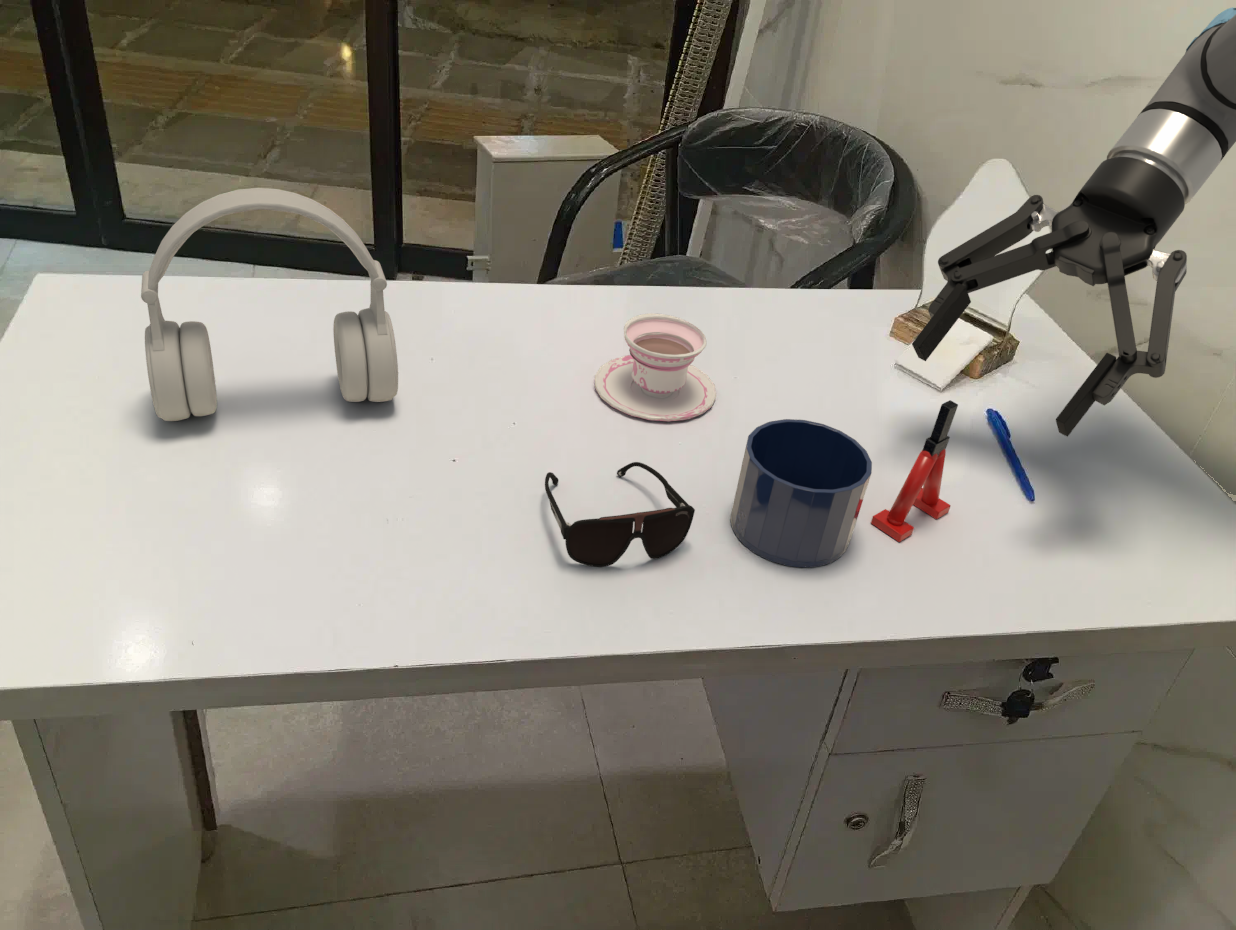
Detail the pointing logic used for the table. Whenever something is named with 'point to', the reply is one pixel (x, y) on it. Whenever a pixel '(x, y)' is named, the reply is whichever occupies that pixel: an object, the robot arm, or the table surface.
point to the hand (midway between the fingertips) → (986, 389)
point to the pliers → (921, 481)
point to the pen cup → (799, 492)
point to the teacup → (658, 371)
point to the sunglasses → (624, 528)
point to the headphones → (185, 351)
